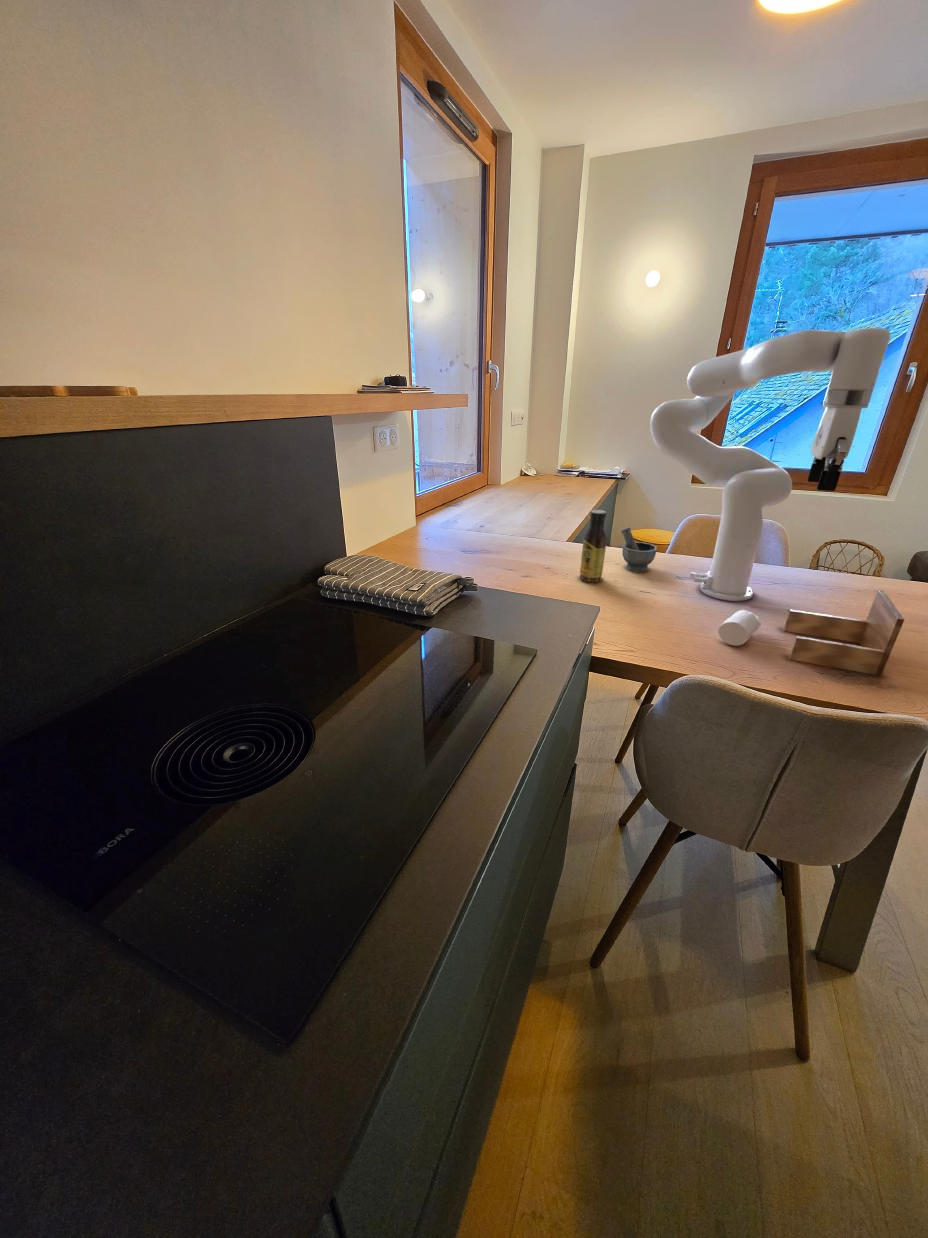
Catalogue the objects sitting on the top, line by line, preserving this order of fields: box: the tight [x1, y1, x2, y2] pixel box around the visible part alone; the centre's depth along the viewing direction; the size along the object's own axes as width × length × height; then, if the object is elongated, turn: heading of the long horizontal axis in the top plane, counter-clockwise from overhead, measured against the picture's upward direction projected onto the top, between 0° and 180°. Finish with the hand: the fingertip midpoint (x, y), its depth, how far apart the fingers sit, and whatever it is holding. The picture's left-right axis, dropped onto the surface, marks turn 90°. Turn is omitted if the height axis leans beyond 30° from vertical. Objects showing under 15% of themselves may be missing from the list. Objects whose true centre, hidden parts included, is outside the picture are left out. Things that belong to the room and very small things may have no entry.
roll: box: [717, 609, 762, 647], centre depth 108 cm, size 6×12×6 cm, turn 135°
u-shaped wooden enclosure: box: [783, 589, 905, 677], centre depth 100 cm, size 15×15×12 cm
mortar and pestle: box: [620, 526, 658, 573], centre depth 147 cm, size 11×9×12 cm
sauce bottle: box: [579, 509, 608, 583], centre depth 137 cm, size 6×6×20 cm
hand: (820, 485), depth 107 cm, fingers open, 9 cm apart
